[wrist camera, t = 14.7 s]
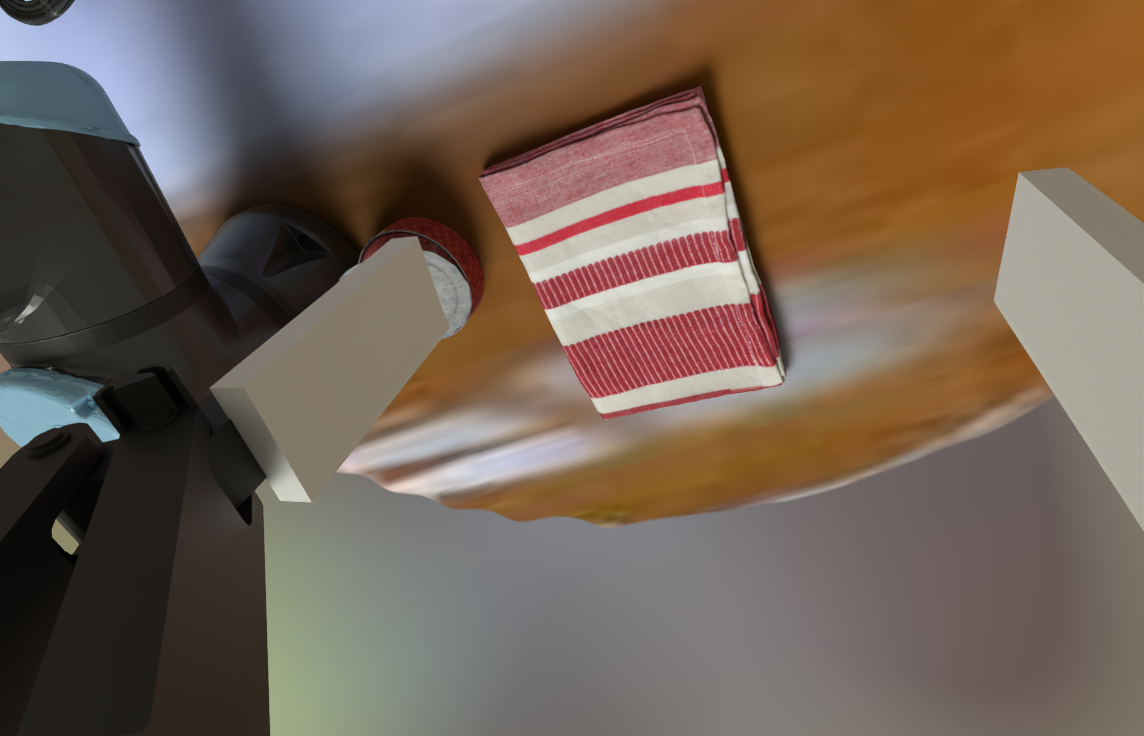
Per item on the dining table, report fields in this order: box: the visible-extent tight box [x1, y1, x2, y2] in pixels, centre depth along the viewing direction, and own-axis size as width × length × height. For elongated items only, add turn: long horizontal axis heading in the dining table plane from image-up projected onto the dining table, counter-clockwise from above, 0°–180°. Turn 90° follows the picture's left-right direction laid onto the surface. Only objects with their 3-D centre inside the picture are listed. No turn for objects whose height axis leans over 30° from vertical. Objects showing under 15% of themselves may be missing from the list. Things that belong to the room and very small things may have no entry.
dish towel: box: [479, 86, 787, 419], centre depth 46 cm, size 17×23×3 cm
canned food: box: [339, 217, 484, 339], centre depth 48 cm, size 11×10×10 cm
